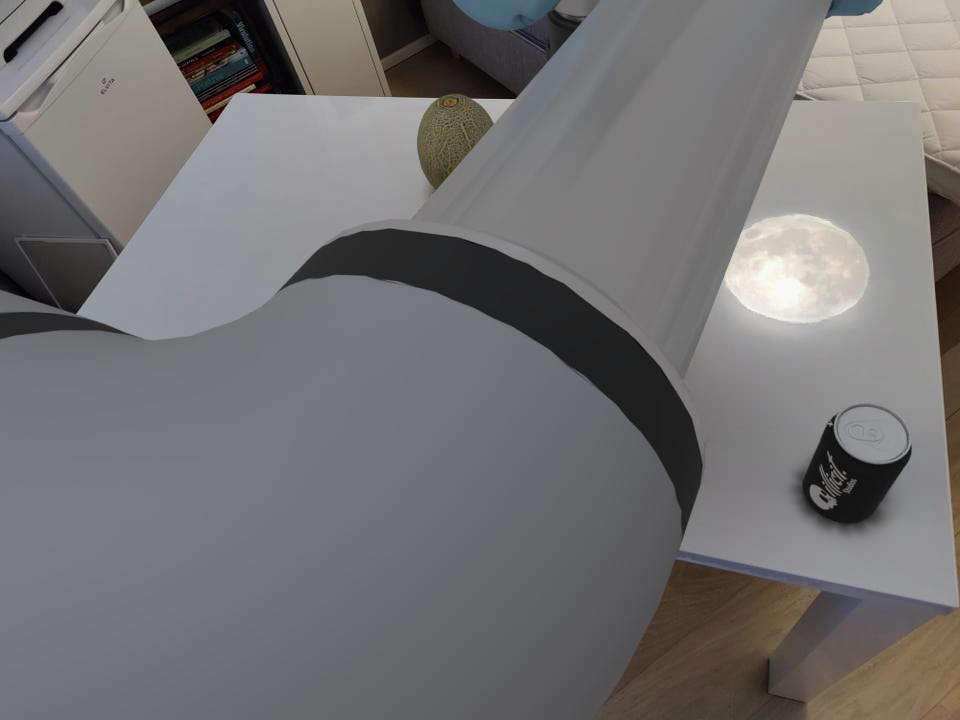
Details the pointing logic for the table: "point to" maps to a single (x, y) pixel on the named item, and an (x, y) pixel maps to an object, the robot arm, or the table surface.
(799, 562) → the table surface
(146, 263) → the table surface
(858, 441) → the beverage can
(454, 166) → the fruit
